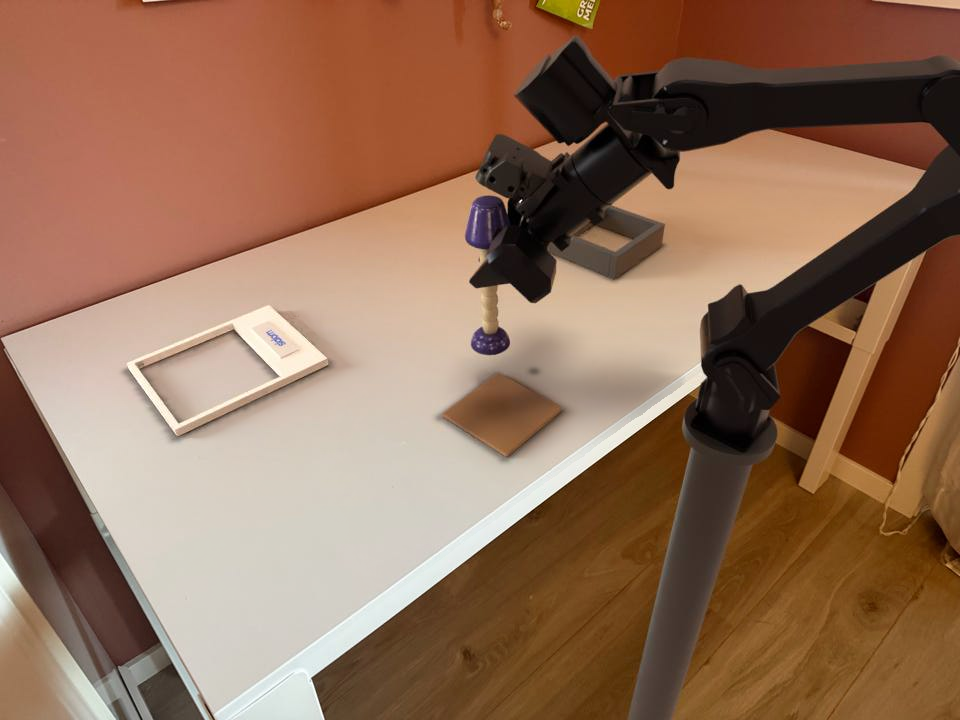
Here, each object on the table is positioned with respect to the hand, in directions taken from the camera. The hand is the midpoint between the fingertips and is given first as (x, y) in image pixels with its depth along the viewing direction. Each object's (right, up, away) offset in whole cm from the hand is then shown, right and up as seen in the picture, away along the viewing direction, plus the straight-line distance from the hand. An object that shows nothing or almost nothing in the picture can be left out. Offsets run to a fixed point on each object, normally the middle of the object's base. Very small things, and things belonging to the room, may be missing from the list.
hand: (477, 273), depth 73 cm
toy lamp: (+2, -7, +5) cm, 9 cm away
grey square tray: (+18, +7, +30) cm, 36 cm away
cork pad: (+3, -15, +3) cm, 15 cm away
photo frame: (-29, -10, +10) cm, 32 cm away
